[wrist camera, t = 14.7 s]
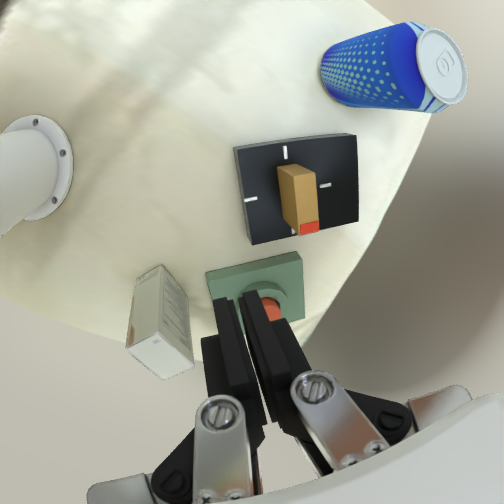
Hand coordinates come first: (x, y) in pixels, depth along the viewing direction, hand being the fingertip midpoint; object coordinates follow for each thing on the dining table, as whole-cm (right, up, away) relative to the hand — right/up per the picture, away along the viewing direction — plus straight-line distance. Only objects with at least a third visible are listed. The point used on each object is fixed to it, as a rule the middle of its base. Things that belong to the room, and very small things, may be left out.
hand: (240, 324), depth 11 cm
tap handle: (+4, +9, +20) cm, 23 cm away
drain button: (+2, -4, +25) cm, 26 cm away
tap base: (+6, +11, +22) cm, 26 cm away
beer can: (+12, +24, +17) cm, 32 cm away
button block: (+1, -3, +28) cm, 28 cm away
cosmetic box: (-11, -2, +25) cm, 27 cm away
